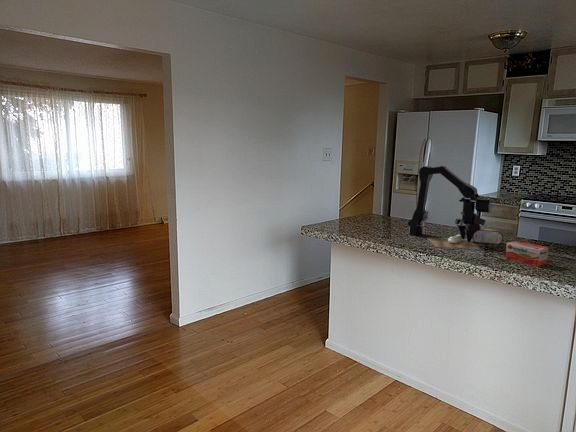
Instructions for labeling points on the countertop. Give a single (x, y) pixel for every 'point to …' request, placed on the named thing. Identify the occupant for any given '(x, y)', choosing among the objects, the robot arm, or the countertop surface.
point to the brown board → (444, 243)
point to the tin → (488, 236)
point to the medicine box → (526, 253)
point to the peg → (454, 238)
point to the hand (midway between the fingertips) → (466, 240)
